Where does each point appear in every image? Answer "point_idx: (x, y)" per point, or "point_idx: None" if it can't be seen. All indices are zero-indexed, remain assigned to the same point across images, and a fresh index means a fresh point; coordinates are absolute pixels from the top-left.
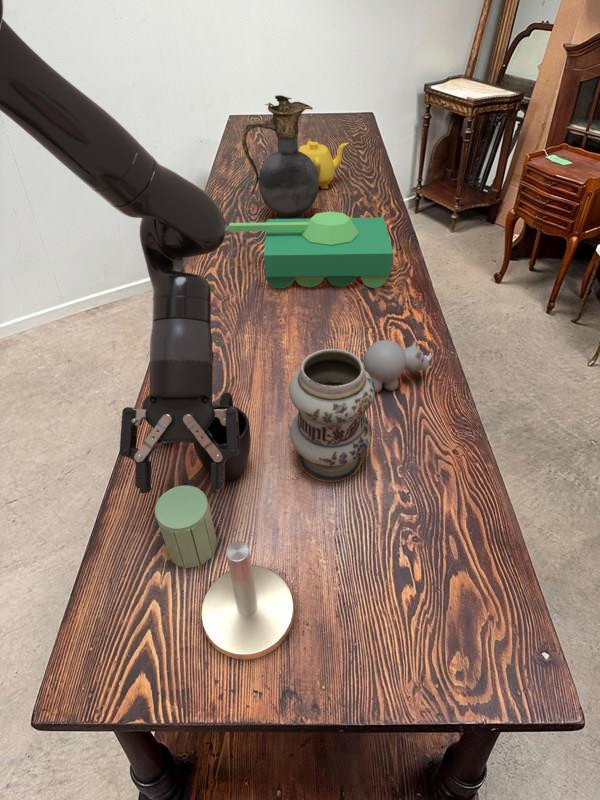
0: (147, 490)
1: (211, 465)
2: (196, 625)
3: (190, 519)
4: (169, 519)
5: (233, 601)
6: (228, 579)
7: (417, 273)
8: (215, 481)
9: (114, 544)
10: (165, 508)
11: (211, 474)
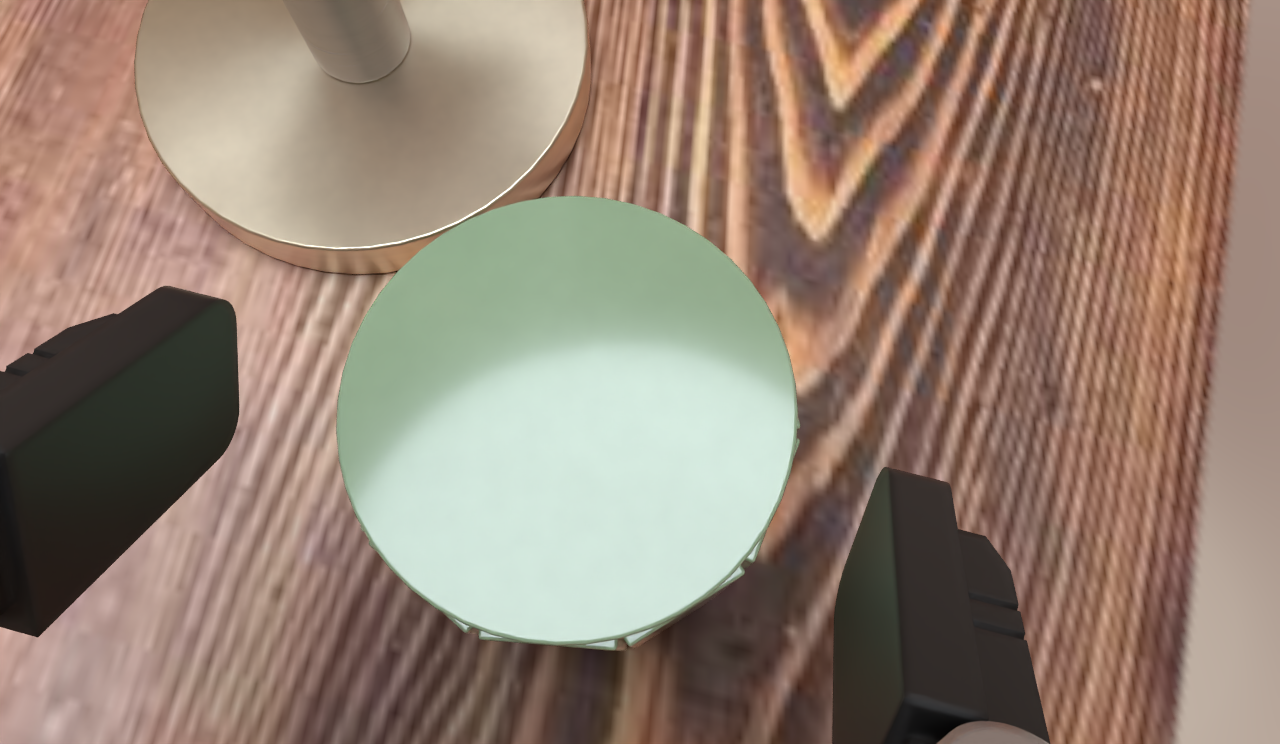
0: (867, 520)
1: (20, 440)
2: (622, 77)
3: (506, 257)
4: (676, 295)
5: (421, 81)
6: (421, 195)
7: None
8: (107, 332)
9: (1061, 632)
10: (705, 415)
11: (96, 377)
